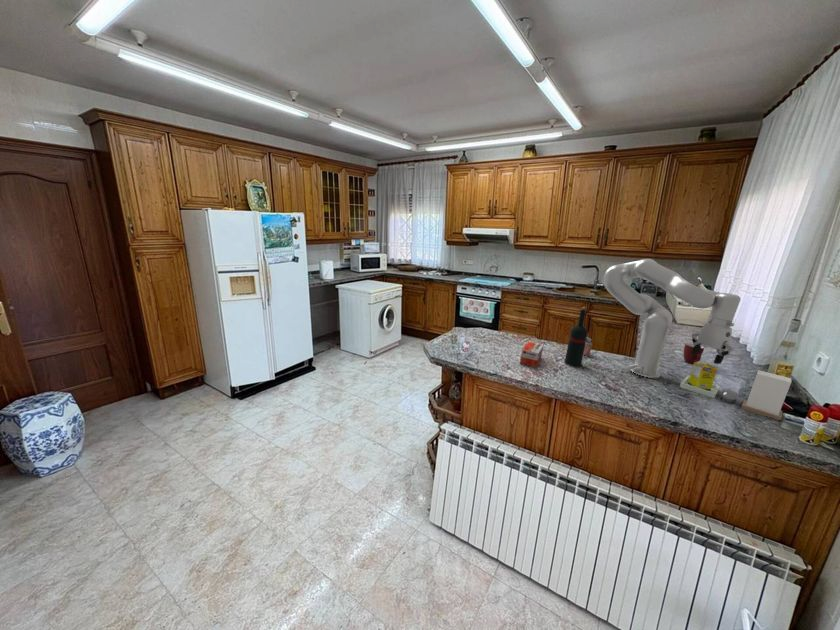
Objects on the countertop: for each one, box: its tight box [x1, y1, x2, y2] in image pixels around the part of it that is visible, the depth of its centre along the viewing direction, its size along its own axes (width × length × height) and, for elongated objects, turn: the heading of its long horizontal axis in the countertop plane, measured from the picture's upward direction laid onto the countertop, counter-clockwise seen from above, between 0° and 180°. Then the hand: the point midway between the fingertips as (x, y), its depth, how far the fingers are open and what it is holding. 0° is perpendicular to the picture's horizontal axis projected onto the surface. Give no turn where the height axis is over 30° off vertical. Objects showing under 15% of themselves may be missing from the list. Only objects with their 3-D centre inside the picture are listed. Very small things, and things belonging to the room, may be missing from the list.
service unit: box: [740, 369, 792, 421], centre depth 127 cm, size 8×11×16 cm
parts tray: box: [679, 376, 720, 399], centre depth 146 cm, size 12×12×2 cm
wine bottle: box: [564, 306, 588, 368], centre depth 164 cm, size 8×10×30 cm
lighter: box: [583, 337, 593, 357], centre depth 179 cm, size 8×3×10 cm, turn 5°
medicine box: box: [519, 341, 544, 368], centre depth 166 cm, size 15×8×8 cm, turn 150°
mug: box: [683, 342, 705, 365], centre depth 175 cm, size 10×8×10 cm
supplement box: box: [688, 361, 718, 391], centre depth 145 cm, size 6×6×11 cm
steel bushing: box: [719, 389, 739, 405], centre depth 136 cm, size 5×5×4 cm
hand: (705, 358), depth 143 cm, fingers open, 9 cm apart
